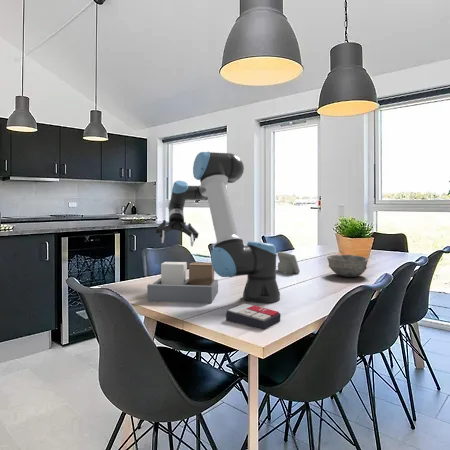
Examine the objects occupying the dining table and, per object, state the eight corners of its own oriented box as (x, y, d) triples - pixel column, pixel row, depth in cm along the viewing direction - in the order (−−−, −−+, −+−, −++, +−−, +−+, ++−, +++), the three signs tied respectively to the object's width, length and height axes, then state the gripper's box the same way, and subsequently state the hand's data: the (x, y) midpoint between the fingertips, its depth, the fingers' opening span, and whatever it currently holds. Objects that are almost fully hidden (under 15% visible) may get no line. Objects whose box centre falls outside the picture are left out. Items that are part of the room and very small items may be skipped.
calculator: (264, 319, 119) (225, 308, 128) (263, 332, 119) (225, 321, 128) (281, 311, 128) (244, 301, 137) (280, 323, 128) (243, 313, 137)
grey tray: (211, 303, 149) (211, 286, 149) (147, 301, 153) (147, 285, 152) (218, 292, 167) (218, 277, 167) (160, 290, 170) (160, 276, 170)
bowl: (354, 282, 186) (354, 262, 186) (318, 275, 202) (319, 257, 201) (375, 276, 200) (375, 257, 199) (340, 270, 215) (340, 253, 215)
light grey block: (183, 289, 164) (183, 264, 163) (161, 289, 165) (161, 264, 164) (187, 286, 170) (186, 262, 169) (165, 286, 171) (164, 261, 170)
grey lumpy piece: (300, 274, 206) (301, 254, 206) (285, 275, 205) (285, 255, 204) (289, 268, 222) (289, 250, 222) (275, 269, 220) (275, 251, 220)
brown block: (212, 290, 162) (211, 265, 162) (189, 289, 164) (188, 264, 163) (214, 287, 168) (214, 262, 168) (191, 286, 170) (191, 262, 169)
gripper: (199, 228, 198) (202, 251, 180) (150, 222, 192) (149, 245, 174) (202, 215, 194) (206, 238, 176) (152, 209, 188) (151, 232, 170)
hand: (177, 242), depth 175 cm, fingers open, 13 cm apart
